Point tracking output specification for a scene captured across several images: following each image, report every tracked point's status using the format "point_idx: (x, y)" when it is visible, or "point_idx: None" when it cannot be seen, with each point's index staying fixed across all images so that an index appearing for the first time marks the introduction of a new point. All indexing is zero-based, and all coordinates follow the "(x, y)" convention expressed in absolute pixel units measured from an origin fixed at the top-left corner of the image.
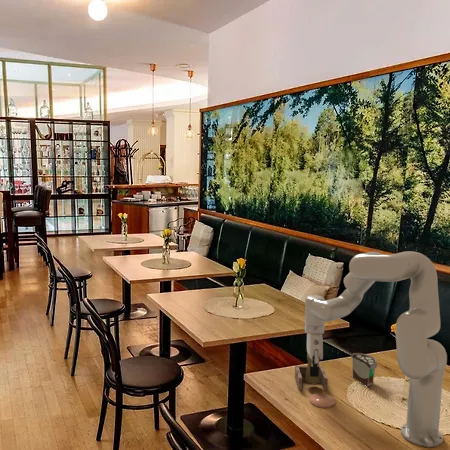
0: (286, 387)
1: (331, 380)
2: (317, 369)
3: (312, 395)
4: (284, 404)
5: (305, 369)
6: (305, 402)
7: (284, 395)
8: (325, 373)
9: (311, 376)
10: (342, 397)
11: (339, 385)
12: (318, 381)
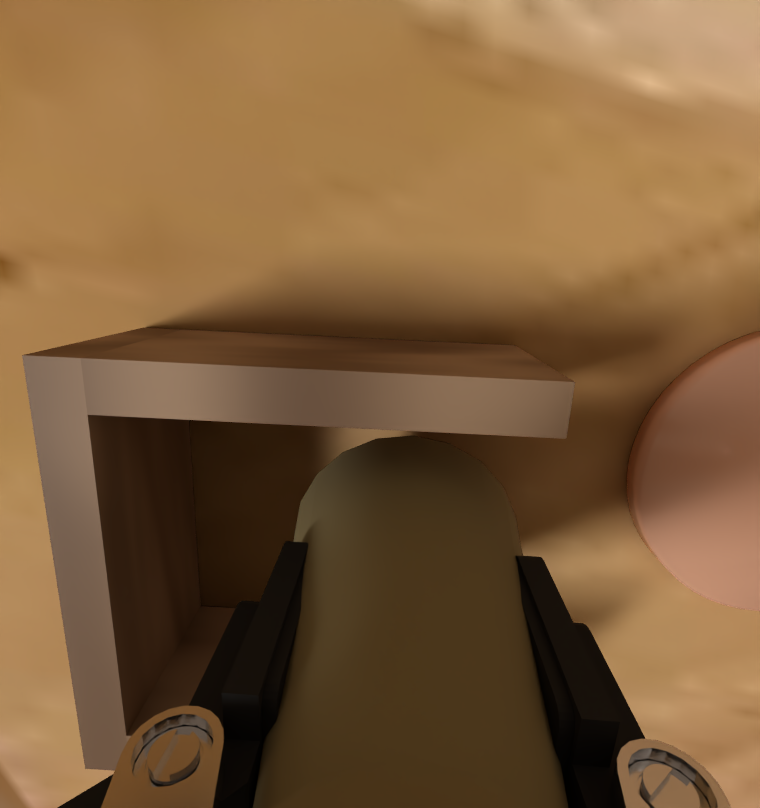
0: None
1: (193, 204)
2: (584, 679)
3: (687, 569)
4: (752, 803)
5: (136, 618)
6: (751, 633)
7: None
8: (343, 371)
9: None
10: (708, 178)
11: (346, 120)
12: (505, 499)
